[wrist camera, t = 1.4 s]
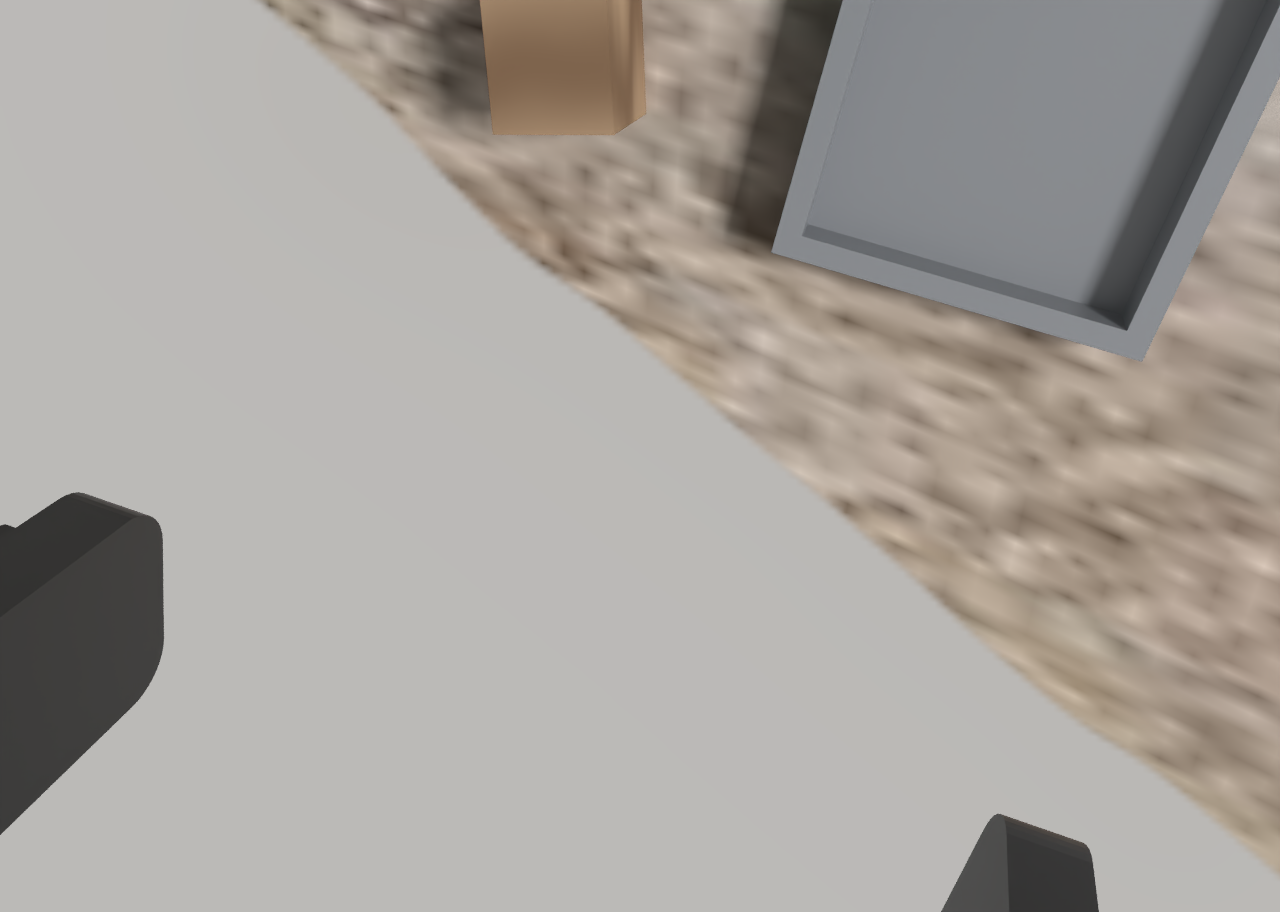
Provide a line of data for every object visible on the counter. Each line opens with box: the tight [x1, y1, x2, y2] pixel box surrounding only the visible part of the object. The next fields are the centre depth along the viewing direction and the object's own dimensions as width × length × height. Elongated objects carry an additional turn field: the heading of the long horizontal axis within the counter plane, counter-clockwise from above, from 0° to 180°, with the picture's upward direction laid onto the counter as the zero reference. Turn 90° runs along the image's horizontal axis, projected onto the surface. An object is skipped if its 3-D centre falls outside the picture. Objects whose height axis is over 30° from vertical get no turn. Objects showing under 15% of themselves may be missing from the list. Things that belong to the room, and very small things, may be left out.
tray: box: [771, 0, 1280, 362], centre depth 33 cm, size 14×12×2 cm
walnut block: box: [480, 0, 646, 135], centre depth 36 cm, size 4×4×4 cm
